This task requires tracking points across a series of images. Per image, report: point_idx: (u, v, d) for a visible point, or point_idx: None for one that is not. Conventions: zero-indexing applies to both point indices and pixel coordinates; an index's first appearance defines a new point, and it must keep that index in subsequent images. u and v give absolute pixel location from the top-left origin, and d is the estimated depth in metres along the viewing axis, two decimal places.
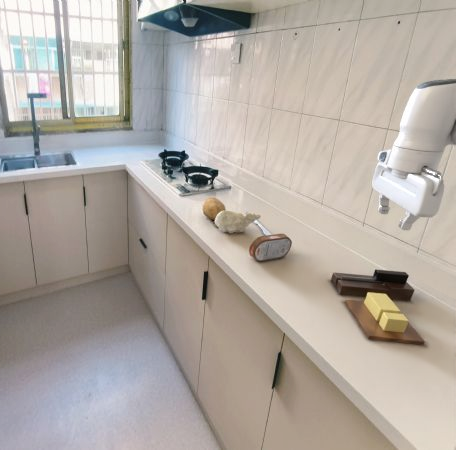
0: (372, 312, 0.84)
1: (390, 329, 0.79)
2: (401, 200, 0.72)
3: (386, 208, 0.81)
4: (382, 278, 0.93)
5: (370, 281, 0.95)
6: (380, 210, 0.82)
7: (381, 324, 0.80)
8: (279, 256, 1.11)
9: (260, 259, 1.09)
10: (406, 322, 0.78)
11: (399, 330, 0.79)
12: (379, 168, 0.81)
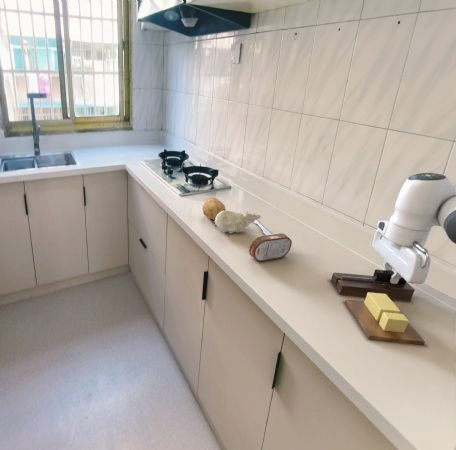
0: (372, 312, 0.84)
1: (390, 329, 0.79)
2: (396, 266, 0.88)
3: None
4: (382, 278, 0.93)
5: (370, 281, 0.95)
6: None
7: (381, 324, 0.80)
8: (279, 256, 1.11)
9: (260, 259, 1.09)
10: (406, 322, 0.78)
11: (399, 330, 0.79)
12: (378, 233, 0.97)
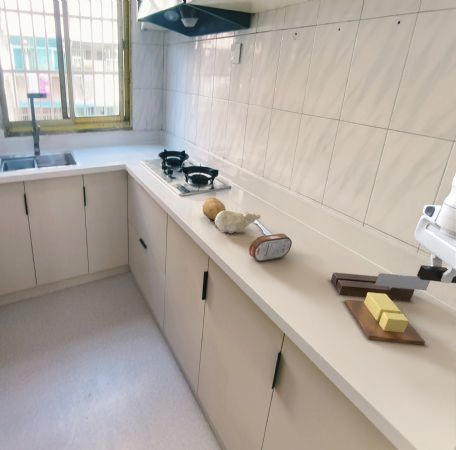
0: (372, 312, 0.84)
1: (390, 329, 0.79)
2: (452, 261, 0.70)
3: None
4: (430, 276, 0.75)
5: (414, 280, 0.76)
6: None
7: (381, 324, 0.80)
8: (279, 256, 1.11)
9: (260, 259, 1.09)
10: (406, 322, 0.78)
11: (399, 330, 0.79)
12: (424, 221, 0.79)
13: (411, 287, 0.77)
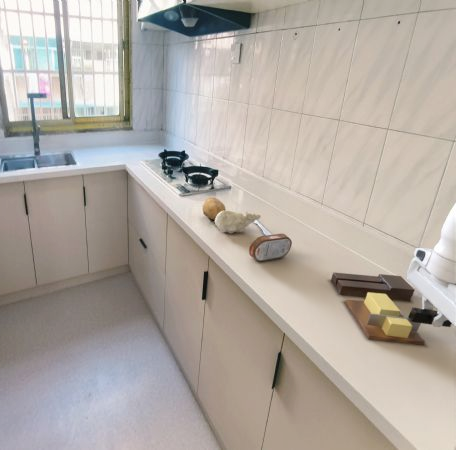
0: (372, 312, 0.84)
1: (393, 334, 0.77)
2: (442, 308, 0.71)
3: None
4: (421, 319, 0.77)
5: None
6: None
7: (384, 329, 0.79)
8: (279, 256, 1.11)
9: (260, 259, 1.09)
10: (409, 327, 0.76)
11: (402, 335, 0.77)
12: (415, 263, 0.80)
13: None
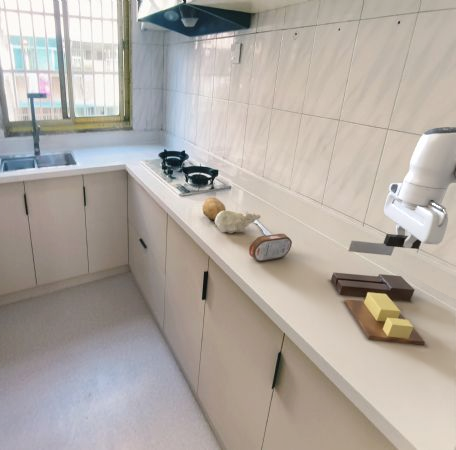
0: (372, 312, 0.84)
1: (394, 335, 0.77)
2: (411, 228, 0.84)
3: None
4: (394, 242, 0.89)
5: (381, 246, 0.90)
6: None
7: (385, 330, 0.78)
8: (279, 256, 1.11)
9: (260, 259, 1.09)
10: (410, 328, 0.76)
11: (403, 336, 0.77)
12: (390, 197, 0.93)
13: (378, 253, 0.91)
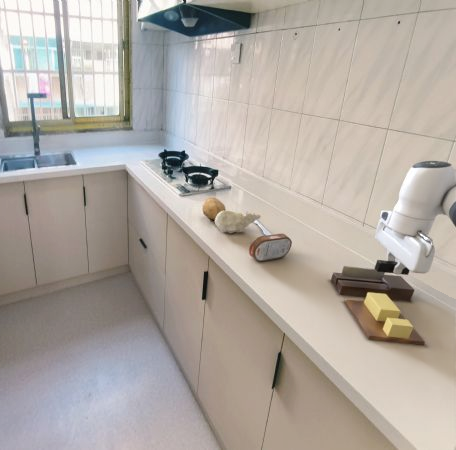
0: (372, 312, 0.84)
1: (394, 335, 0.77)
2: (400, 256, 0.87)
3: None
4: (384, 268, 0.92)
5: (372, 272, 0.93)
6: None
7: (385, 330, 0.78)
8: (279, 256, 1.11)
9: (260, 259, 1.09)
10: (410, 328, 0.76)
11: (403, 336, 0.77)
12: (381, 223, 0.96)
13: (370, 278, 0.94)
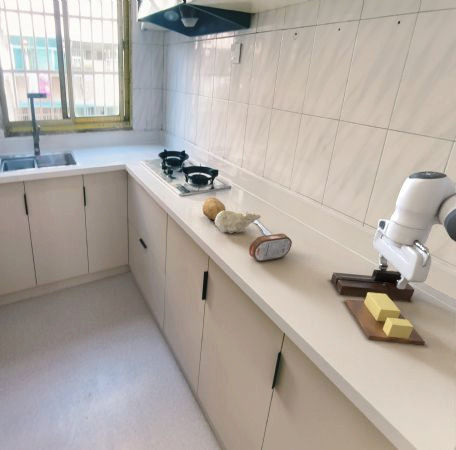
0: (372, 312, 0.84)
1: (394, 335, 0.77)
2: (397, 265, 0.88)
3: (385, 266, 0.97)
4: (381, 278, 0.93)
5: (369, 281, 0.95)
6: (380, 267, 0.97)
7: (385, 330, 0.78)
8: (279, 256, 1.11)
9: (260, 259, 1.09)
10: (410, 328, 0.76)
11: (403, 336, 0.77)
12: (379, 232, 0.97)
13: None
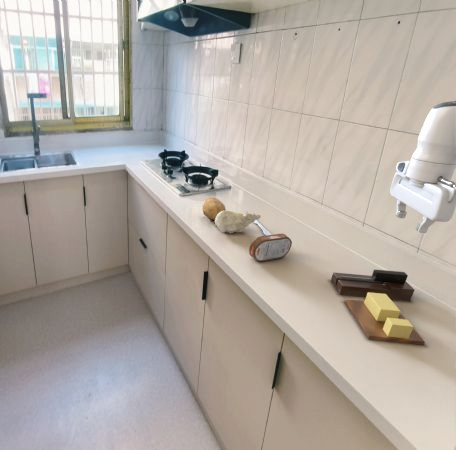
0: (372, 312, 0.84)
1: (394, 335, 0.77)
2: (419, 207, 0.81)
3: (403, 213, 0.90)
4: (381, 278, 0.93)
5: (369, 281, 0.95)
6: (398, 214, 0.91)
7: (385, 330, 0.78)
8: (279, 256, 1.11)
9: (260, 259, 1.09)
10: (410, 328, 0.76)
11: (403, 336, 0.77)
12: (397, 177, 0.90)
13: None
